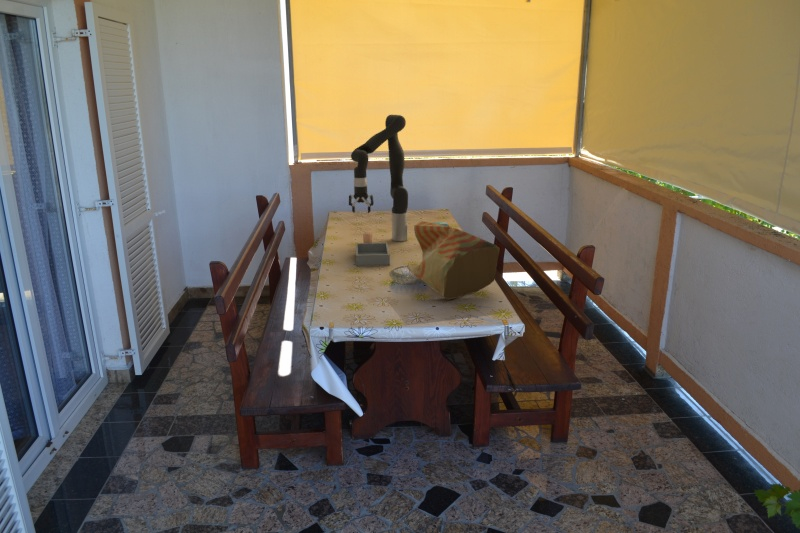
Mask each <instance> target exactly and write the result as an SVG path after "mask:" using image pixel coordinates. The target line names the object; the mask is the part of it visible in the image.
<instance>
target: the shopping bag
mask: <svg viewBox="0 0 800 533" xmlns="http://www.w3.org/2000/svg"><path fill="white" fill-rule="evenodd" d="M434 223H435V222H427V221H423V220H421V221H419V222H418V223H416V224H414V225H413V226H414V227H413V228H414V230H413V231H414V236H415V238H416V241H417V242H418V244H419V247H420V249H421V252H422V253H421V254H422V255H421V256H422V257H421V258H422V260H421V261H420V263H419V264H418V263H417V264H416V263H411V262H409V263H407V265H406V268H407V270H408V271H409V272H410V271H411V272H410V273H411V274H412V275H413V276H415V277H416V278H418V279H419V280H421V281H422V282H424V283H425V284H426V285H427V286H429V288H431V289H433V291H435V292H437V293H438V295H440V296H442V297H443V299H446V300H453V299H458V298H461V297H464V296H467V295H469V294H470V295H471V294H473V293H476V292H479V291H481V290H482V289H484V288H486V287H488V286H490V285H491V284H492V283H493V282H494V281H495V279H496V272H497V266H498V261H499V256H500V255H499V254H500V249H501V248H500V247H499V246H497V245H496V244H495V243H492V242H490V241H488V240H485V239H483V238H480V237H478V236H475V235H473V234H471V233H468V232H466V231H463V230H461V229H458V228H456V227H451V226H449V227H447V226H443V225H439V224H434Z"/></svg>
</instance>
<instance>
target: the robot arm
mask: <svg viewBox="0 0 800 533" xmlns="http://www.w3.org/2000/svg"><path fill="white" fill-rule="evenodd" d="M406 121H407V120H406V118H405V117H404V116H403V115H401V114H388V115H387V116H386V119H385V123H384V124H385V128H384V129H382V130H380V131H379V132H377V133H375V134H374V135H372V136H371V137H370V138H369V139H368V140H367V141H365V142H364V143H363V144H361V145H359V146H357V148H354V149H353V151H352V152H351V155H350V158H351V160H352V162H354V163H355V162H356V163H357V166H354V169H353V190H354V192H353V193H354V194H349V196H348V206H351V209H352V210H351V212H353V214H356V206H355V205H356V204H357V203H358V204H360V203H363V204H364V203H365V205H366V206H367V213H368V214H370V212H372V211H371V210H372V208H371V207H372V206H374V203H375V202H374V195H373V194H371V195H370V194H368V179H367V168H368V164H369V155H370V154H373V153H374V152H375V151H377V149H379V147H381V145H383V144H384V143H385V142H387V146H388V164H389V172H390V175H389V176H390V192H389V193H390V197H391V198H392V199H393V202H392V203H393V204H392V207H391V240H392V241H393V242H394V241H395V242H405V241H406V242H407V241H408V221H407V220H408V213H407V212H408V206H409V192H408V190H407V189H406V188H405V187H404V180H403V179H404V178H403V174H404V169H405V163H406V162H405V152H404V149H403V147H402V145H401V143H400V140H399V134H398V133H399V132H402V130H404V128H405V127H406V124H407V122H406ZM353 198H354V202H353V203H352V199H353ZM368 199H369V200H370V202H369V200H368Z"/></svg>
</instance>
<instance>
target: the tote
mask: <svg viewBox="0 0 800 533" xmlns="http://www.w3.org/2000/svg"><path fill="white" fill-rule="evenodd" d="M388 244H389V243H388V242H372V243H363V242H362V243H358V242H357V243H355V259H356V260H355V262H356V264H355V266H356V267H371V266H372V267H375V266H379V267H380V266H390V265H391V255H390V250H389V245H388Z"/></svg>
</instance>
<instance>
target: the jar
mask: <svg viewBox="0 0 800 533" xmlns="http://www.w3.org/2000/svg"><path fill="white" fill-rule="evenodd" d="M362 235H363V236H362V238H363V239H362V243H373V233H372V232H364V233H362Z"/></svg>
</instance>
